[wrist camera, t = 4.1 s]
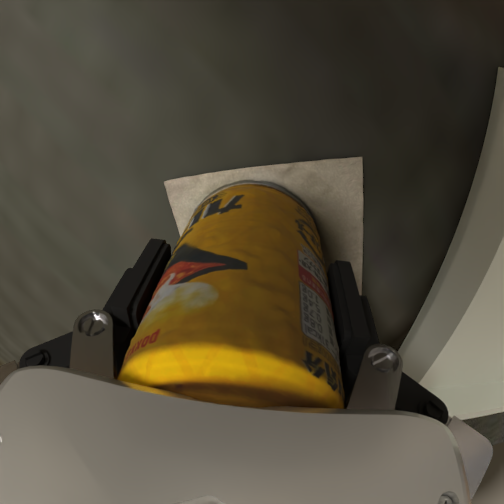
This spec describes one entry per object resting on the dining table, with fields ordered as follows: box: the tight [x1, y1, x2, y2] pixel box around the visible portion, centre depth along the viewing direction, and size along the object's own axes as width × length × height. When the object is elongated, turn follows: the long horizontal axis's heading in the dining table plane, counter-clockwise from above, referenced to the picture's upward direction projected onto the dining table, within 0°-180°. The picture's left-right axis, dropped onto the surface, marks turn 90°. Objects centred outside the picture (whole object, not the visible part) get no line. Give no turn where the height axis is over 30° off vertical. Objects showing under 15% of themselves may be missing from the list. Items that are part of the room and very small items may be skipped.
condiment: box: [117, 157, 363, 409], centre depth 10 cm, size 7×8×12 cm
